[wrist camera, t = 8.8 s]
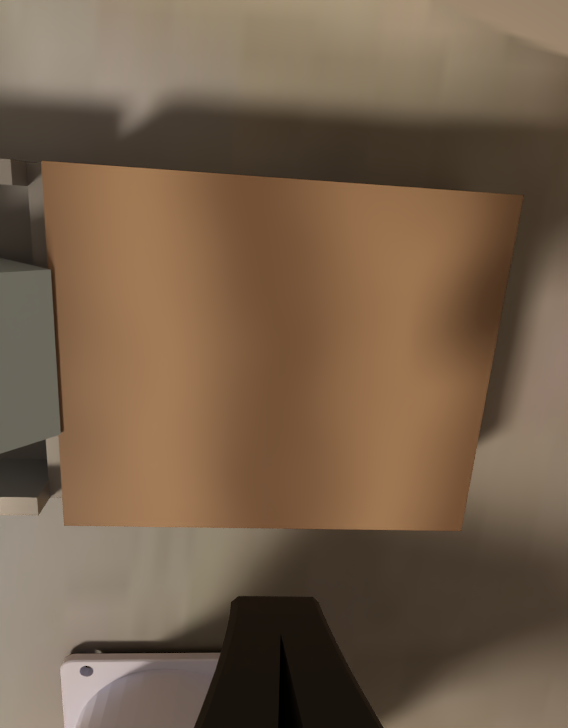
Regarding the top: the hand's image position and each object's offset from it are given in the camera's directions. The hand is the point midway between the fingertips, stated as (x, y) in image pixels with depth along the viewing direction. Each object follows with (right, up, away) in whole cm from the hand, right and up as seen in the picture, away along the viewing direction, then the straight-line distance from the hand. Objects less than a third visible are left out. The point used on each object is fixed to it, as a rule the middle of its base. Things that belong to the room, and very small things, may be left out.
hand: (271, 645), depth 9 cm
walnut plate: (0, +5, +9) cm, 11 cm away
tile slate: (-8, +5, +6) cm, 11 cm away
